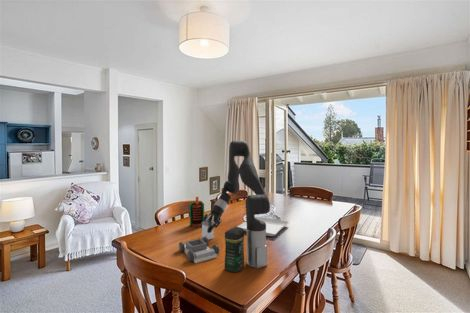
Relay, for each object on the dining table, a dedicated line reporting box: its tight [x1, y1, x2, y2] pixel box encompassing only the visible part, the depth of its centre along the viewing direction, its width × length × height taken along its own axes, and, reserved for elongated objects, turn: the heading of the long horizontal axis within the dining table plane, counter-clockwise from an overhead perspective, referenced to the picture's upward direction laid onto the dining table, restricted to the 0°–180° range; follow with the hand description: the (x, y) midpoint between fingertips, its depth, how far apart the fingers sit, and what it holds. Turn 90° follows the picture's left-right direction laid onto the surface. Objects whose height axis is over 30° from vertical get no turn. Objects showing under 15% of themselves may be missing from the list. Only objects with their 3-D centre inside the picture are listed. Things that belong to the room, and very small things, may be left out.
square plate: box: [236, 216, 290, 237], centre depth 171 cm, size 27×27×4 cm
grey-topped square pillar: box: [201, 220, 215, 241], centre depth 154 cm, size 5×5×10 cm
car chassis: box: [178, 237, 220, 264], centre depth 134 cm, size 20×15×5 cm
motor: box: [189, 196, 205, 228], centre depth 178 cm, size 10×9×20 cm
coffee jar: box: [224, 226, 245, 273], centre depth 117 cm, size 10×8×19 cm
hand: (205, 231), depth 153 cm, fingers closed on grey-topped square pillar, 5 cm apart
